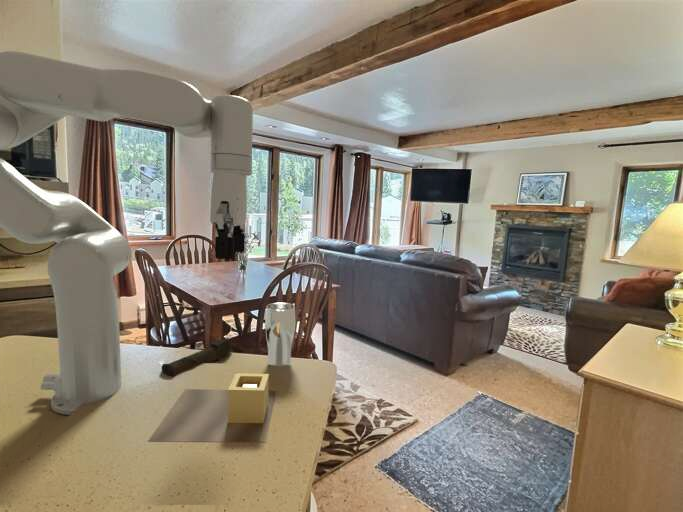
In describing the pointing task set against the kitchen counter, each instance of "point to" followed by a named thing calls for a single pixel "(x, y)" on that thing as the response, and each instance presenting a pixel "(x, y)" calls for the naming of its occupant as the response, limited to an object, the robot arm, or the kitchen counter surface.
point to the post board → (209, 419)
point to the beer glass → (279, 333)
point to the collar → (248, 398)
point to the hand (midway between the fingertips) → (230, 254)
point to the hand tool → (199, 357)
